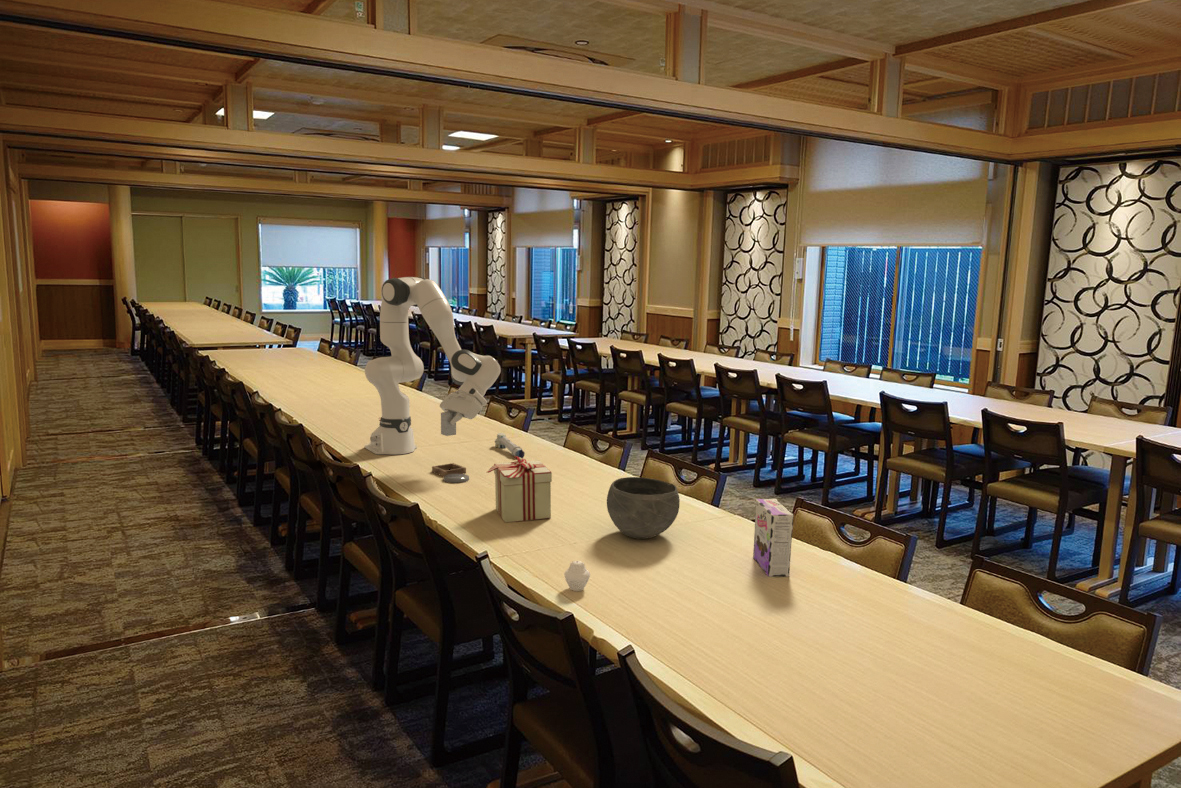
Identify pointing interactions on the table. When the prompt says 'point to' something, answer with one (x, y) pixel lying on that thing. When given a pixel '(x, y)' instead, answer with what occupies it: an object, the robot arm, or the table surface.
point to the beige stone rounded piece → (577, 576)
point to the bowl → (642, 506)
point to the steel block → (447, 424)
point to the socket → (445, 468)
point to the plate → (456, 478)
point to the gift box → (522, 490)
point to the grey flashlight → (508, 445)
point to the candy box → (773, 537)
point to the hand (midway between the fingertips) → (446, 422)
